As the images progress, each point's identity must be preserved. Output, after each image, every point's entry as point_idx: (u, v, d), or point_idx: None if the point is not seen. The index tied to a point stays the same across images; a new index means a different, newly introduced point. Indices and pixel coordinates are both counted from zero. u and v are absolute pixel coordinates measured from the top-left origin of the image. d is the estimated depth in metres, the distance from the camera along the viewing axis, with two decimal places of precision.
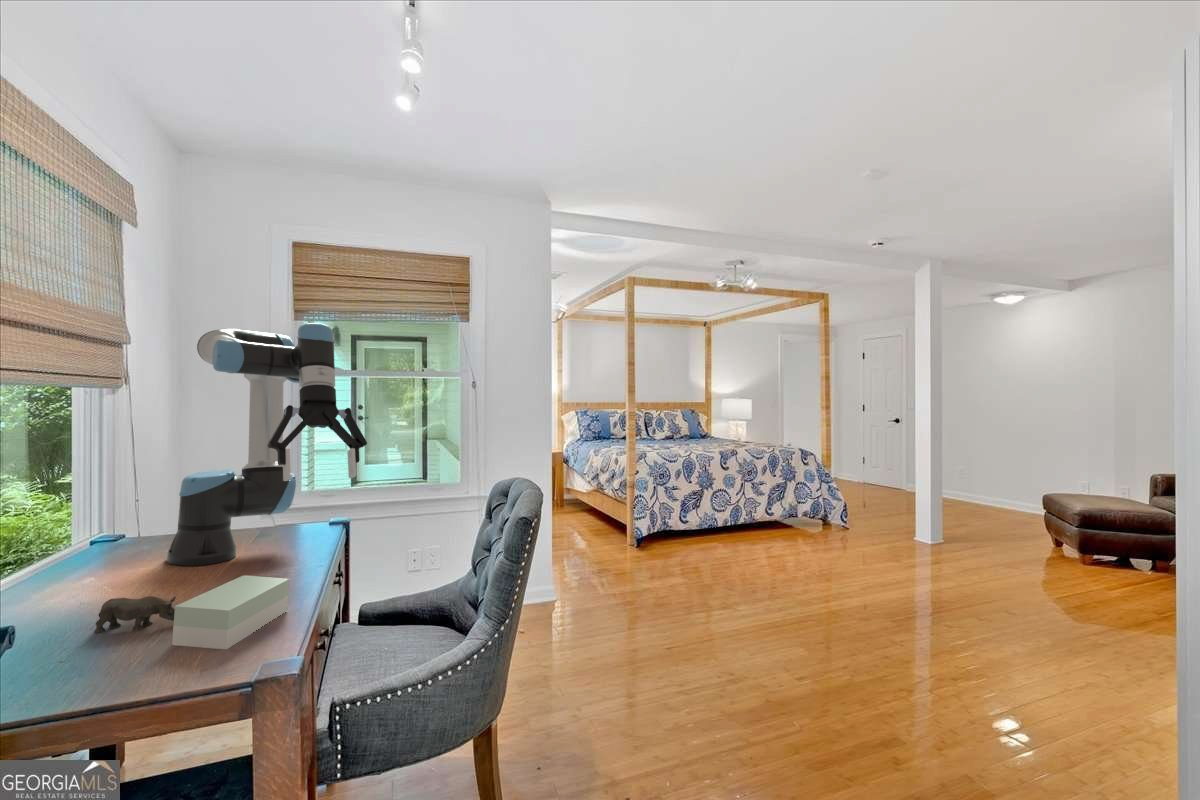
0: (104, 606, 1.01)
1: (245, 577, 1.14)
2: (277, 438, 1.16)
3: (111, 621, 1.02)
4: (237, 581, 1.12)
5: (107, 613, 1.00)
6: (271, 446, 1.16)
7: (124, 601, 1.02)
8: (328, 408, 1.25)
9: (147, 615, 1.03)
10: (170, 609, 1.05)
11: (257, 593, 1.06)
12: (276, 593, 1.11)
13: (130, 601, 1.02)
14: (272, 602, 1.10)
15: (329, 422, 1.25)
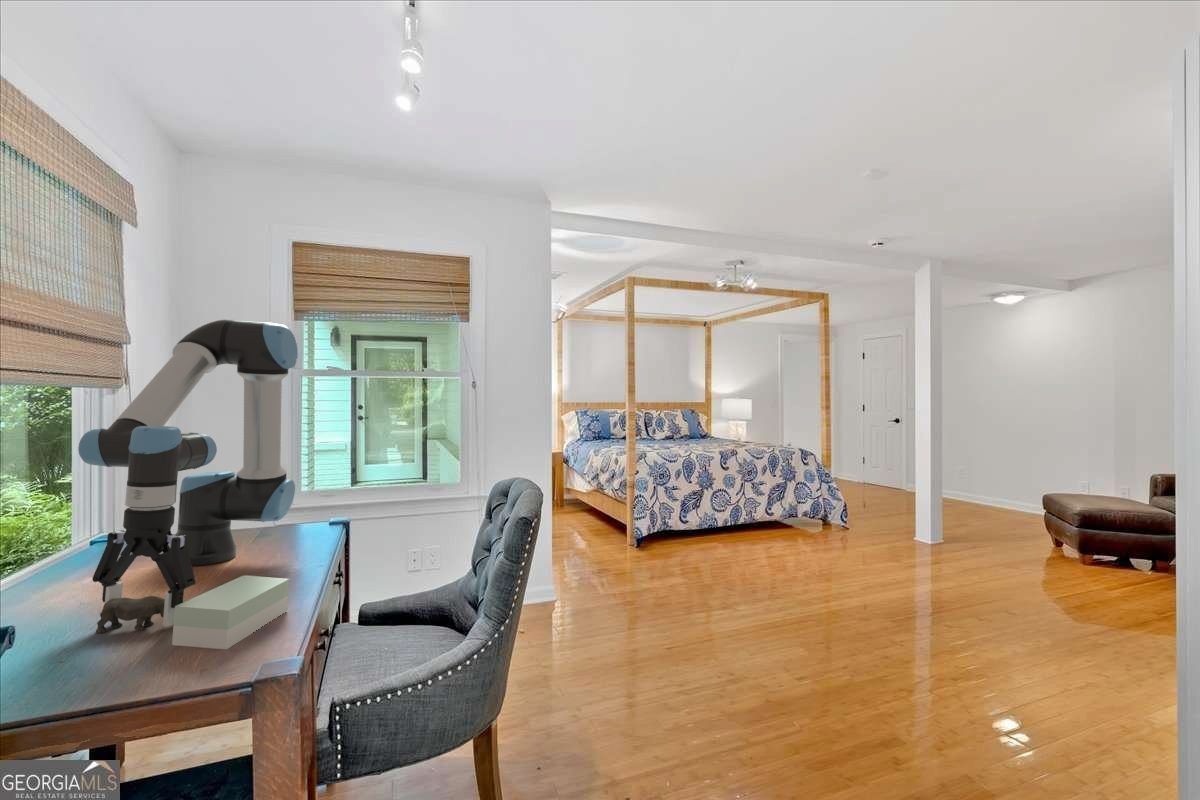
0: (105, 606, 1.01)
1: (245, 577, 1.14)
2: (99, 573, 1.03)
3: (113, 621, 1.02)
4: (237, 581, 1.12)
5: (108, 613, 1.00)
6: None
7: (125, 601, 1.02)
8: (153, 534, 1.03)
9: (148, 615, 1.03)
10: None
11: (257, 593, 1.06)
12: (276, 593, 1.11)
13: (131, 601, 1.02)
14: (272, 602, 1.10)
15: None
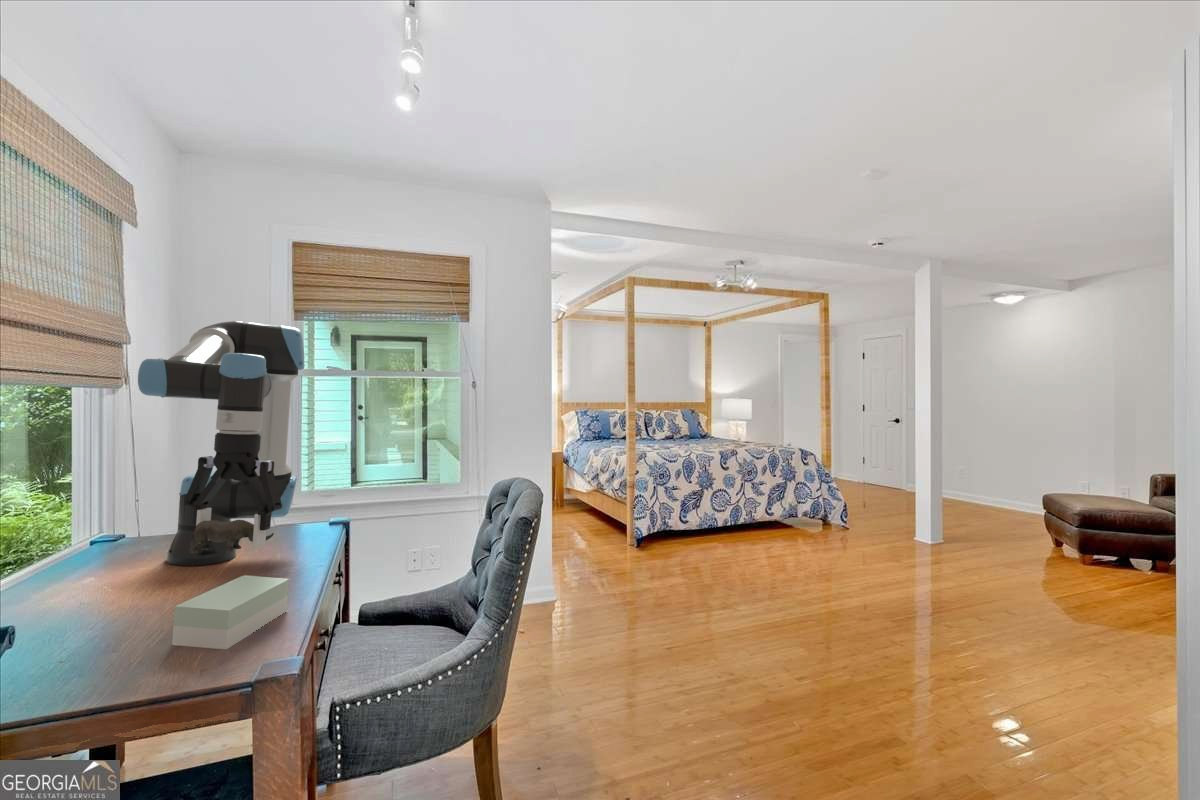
0: (198, 527, 1.03)
1: (245, 577, 1.14)
2: (190, 496, 1.05)
3: (203, 543, 1.05)
4: (237, 581, 1.12)
5: (201, 533, 1.02)
6: None
7: (216, 523, 1.04)
8: (242, 458, 1.05)
9: (238, 537, 1.05)
10: None
11: (257, 593, 1.06)
12: (276, 593, 1.11)
13: (221, 523, 1.05)
14: (272, 602, 1.10)
15: None
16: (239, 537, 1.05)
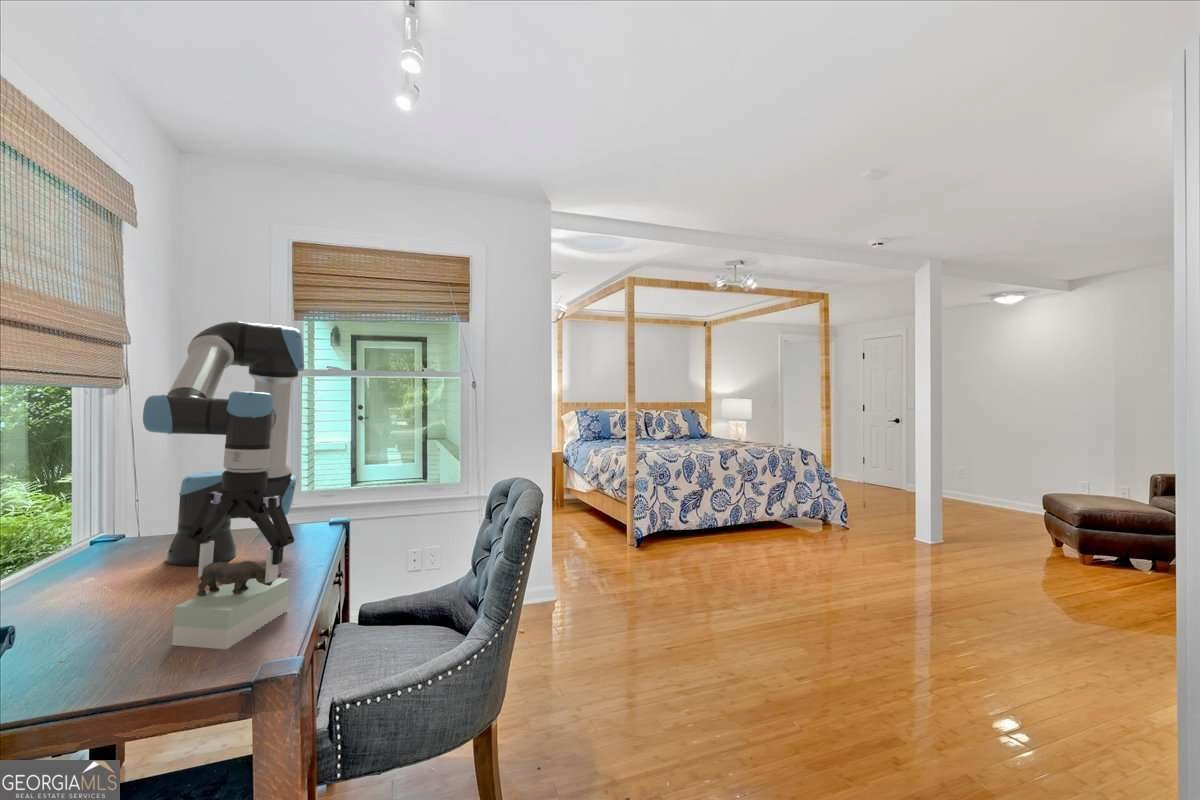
0: (206, 570, 1.03)
1: None
2: (193, 531, 1.05)
3: (211, 585, 1.05)
4: None
5: (209, 576, 1.03)
6: None
7: (224, 565, 1.05)
8: (249, 497, 1.05)
9: (246, 579, 1.05)
10: None
11: (257, 593, 1.06)
12: (276, 593, 1.11)
13: (229, 565, 1.05)
14: (272, 602, 1.10)
15: None
16: (247, 579, 1.06)
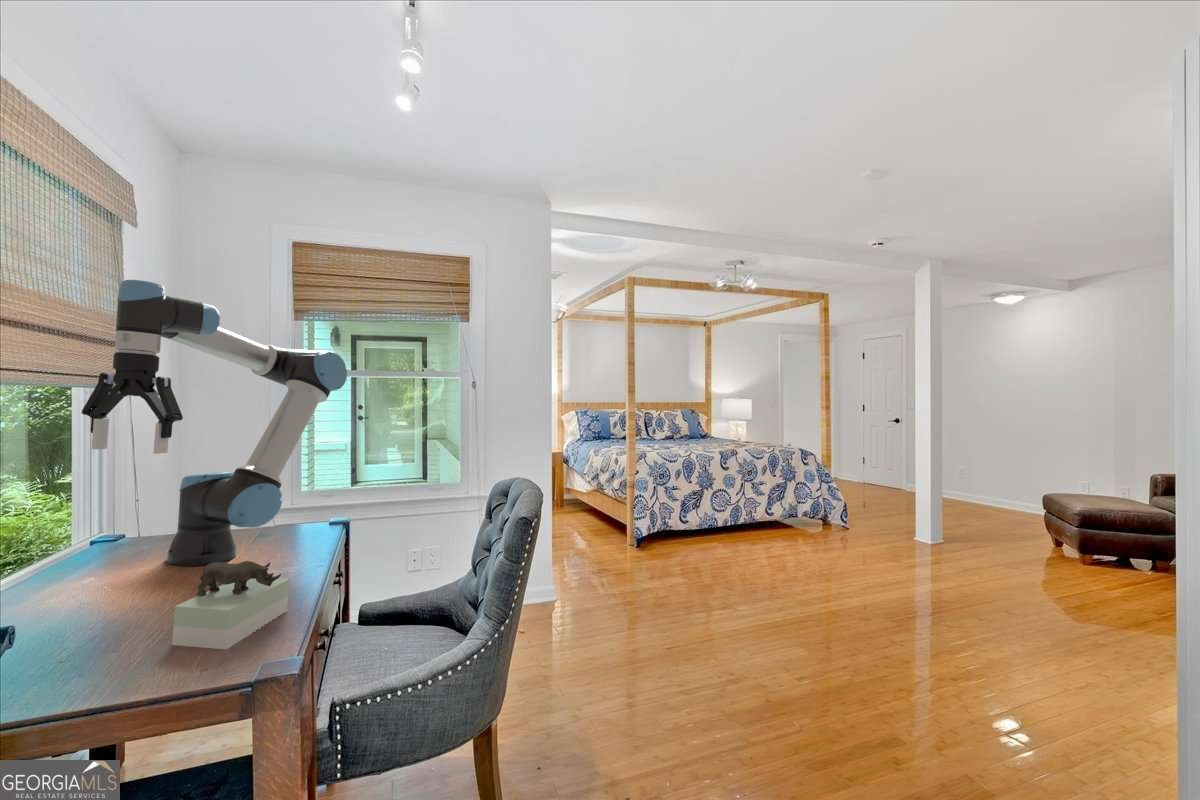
0: (206, 569, 1.03)
1: None
2: (88, 407, 1.16)
3: (211, 585, 1.05)
4: None
5: (209, 576, 1.03)
6: None
7: (224, 565, 1.05)
8: (139, 377, 1.16)
9: (245, 579, 1.05)
10: (266, 574, 1.07)
11: (257, 593, 1.06)
12: (276, 593, 1.11)
13: (229, 565, 1.05)
14: (272, 602, 1.10)
15: None
16: (247, 579, 1.06)
